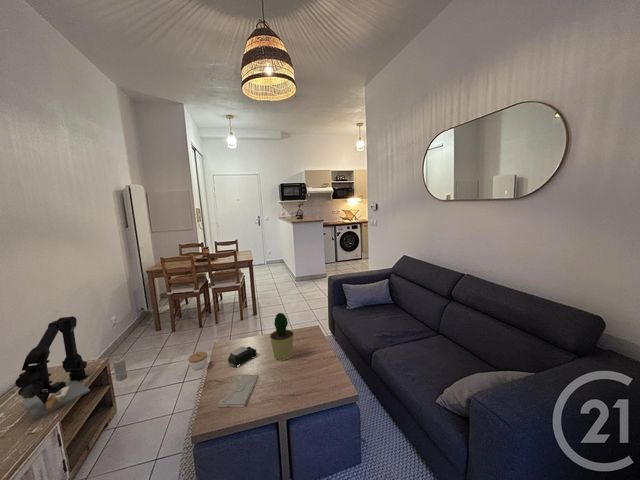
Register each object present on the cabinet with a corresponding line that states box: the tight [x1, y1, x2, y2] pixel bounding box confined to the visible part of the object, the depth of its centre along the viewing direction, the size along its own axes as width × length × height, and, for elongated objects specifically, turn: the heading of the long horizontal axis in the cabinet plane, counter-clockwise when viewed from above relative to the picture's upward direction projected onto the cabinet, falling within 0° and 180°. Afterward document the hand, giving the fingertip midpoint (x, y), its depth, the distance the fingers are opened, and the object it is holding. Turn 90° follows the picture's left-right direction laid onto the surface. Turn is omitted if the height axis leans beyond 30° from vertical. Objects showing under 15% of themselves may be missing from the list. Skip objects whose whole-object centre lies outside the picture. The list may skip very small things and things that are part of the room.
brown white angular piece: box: [42, 386, 70, 409], centre depth 144 cm, size 16×9×4 cm, turn 31°
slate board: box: [20, 380, 91, 420], centre depth 147 cm, size 22×22×4 cm
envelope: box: [217, 374, 259, 406], centre depth 145 cm, size 24×2×14 cm
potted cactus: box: [269, 312, 294, 361], centre depth 175 cm, size 15×15×30 cm
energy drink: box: [113, 357, 128, 382], centre depth 161 cm, size 5×5×12 cm
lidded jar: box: [187, 351, 208, 371], centre depth 168 cm, size 11×11×9 cm
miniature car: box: [227, 346, 258, 367], centre depth 174 cm, size 9×18×8 cm, turn 141°
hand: (45, 403), depth 140 cm, fingers closed
